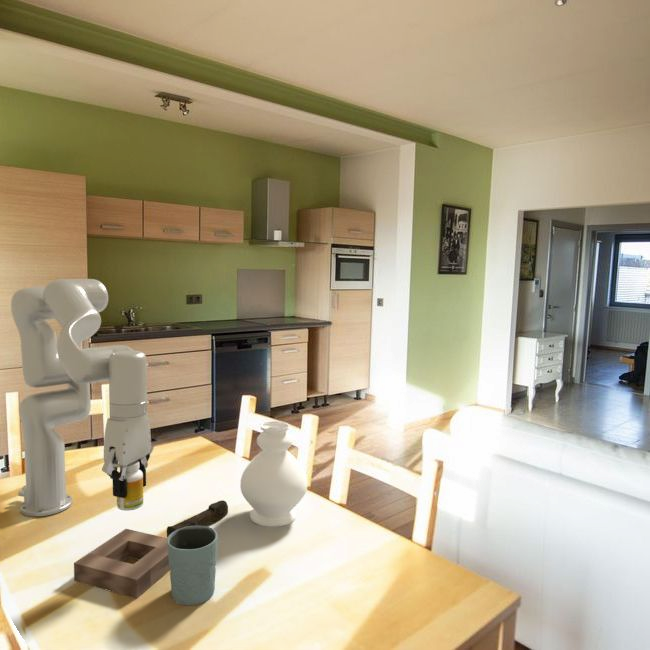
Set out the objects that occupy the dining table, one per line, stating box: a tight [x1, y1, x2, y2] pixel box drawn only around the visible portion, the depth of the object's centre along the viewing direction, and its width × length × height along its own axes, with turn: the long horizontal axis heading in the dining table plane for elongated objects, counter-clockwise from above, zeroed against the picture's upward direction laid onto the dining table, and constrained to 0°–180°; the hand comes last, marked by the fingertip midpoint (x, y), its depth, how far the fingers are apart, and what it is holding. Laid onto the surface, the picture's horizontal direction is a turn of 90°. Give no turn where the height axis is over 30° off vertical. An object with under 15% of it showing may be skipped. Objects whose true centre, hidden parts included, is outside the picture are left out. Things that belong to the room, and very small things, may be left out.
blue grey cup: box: [166, 525, 219, 606], centre depth 110 cm, size 10×10×12 cm
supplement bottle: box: [116, 460, 144, 511], centre depth 116 cm, size 5×5×10 cm
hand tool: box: [166, 500, 229, 538], centre depth 138 cm, size 19×4×5 cm, turn 142°
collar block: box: [73, 528, 170, 599], centre depth 118 cm, size 16×16×4 cm
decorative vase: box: [240, 420, 308, 528], centre depth 144 cm, size 18×18×25 cm
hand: (129, 490), depth 117 cm, fingers closed on supplement bottle, 5 cm apart
